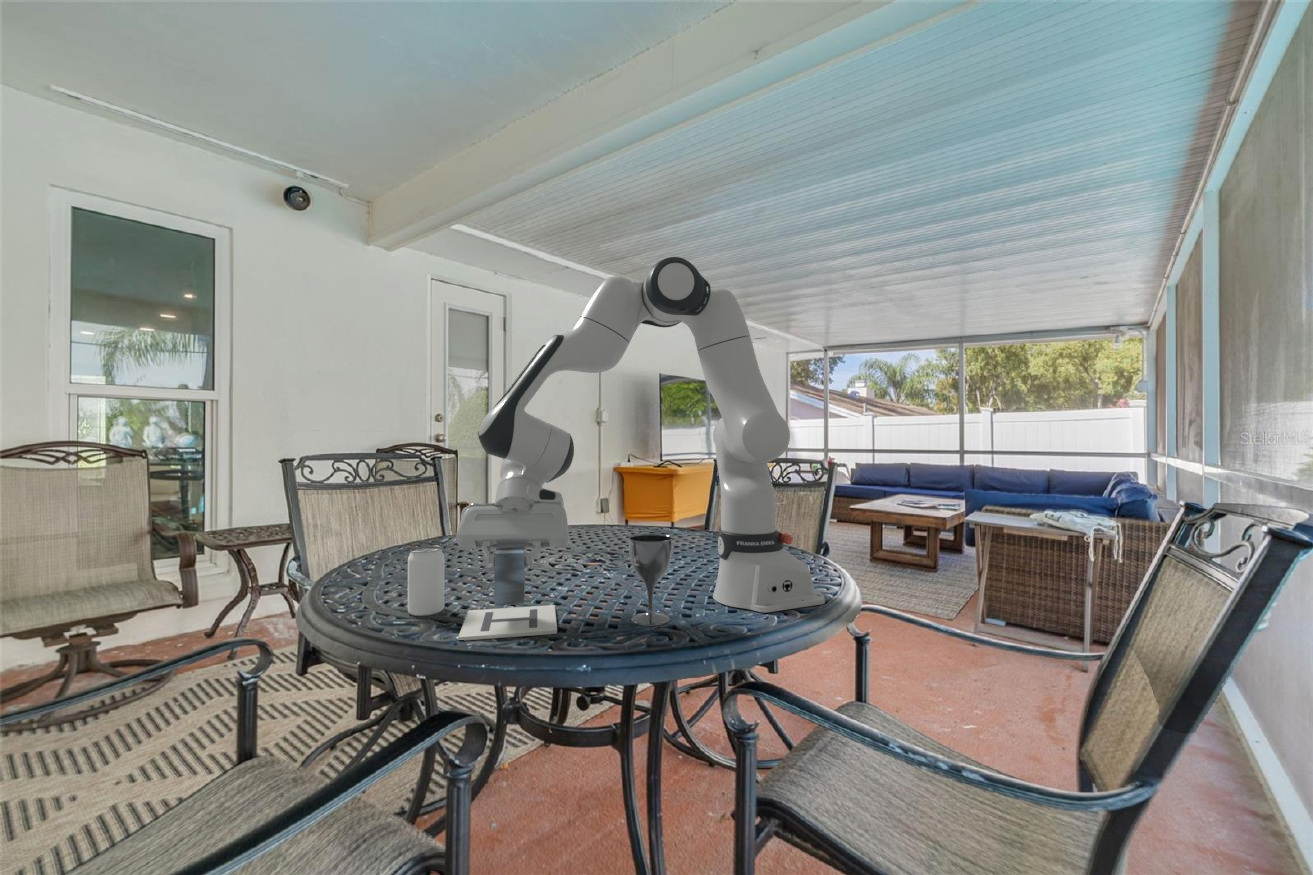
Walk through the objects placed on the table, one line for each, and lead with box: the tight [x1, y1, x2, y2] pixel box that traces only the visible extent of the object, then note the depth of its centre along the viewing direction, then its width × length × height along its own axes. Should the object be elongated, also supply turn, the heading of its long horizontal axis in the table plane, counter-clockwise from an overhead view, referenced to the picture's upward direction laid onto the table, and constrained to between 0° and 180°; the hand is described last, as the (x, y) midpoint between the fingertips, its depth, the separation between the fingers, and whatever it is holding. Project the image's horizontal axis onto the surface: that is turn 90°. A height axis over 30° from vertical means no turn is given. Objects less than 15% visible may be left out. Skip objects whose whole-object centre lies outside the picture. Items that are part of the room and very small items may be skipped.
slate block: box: [493, 547, 526, 606], centre depth 100 cm, size 5×5×9 cm
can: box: [407, 545, 446, 617], centre depth 106 cm, size 6×6×12 cm
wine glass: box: [628, 533, 673, 627], centre depth 102 cm, size 8×8×15 cm
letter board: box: [457, 604, 558, 641], centre depth 100 cm, size 16×14×1 cm
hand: (509, 565), depth 99 cm, fingers closed on slate block, 5 cm apart
